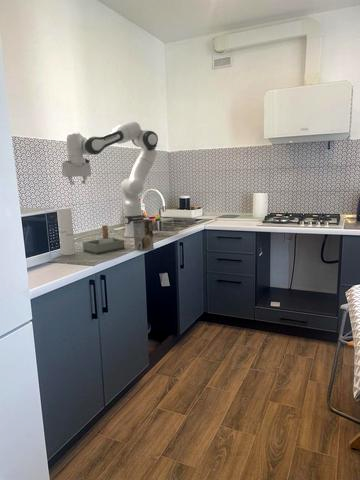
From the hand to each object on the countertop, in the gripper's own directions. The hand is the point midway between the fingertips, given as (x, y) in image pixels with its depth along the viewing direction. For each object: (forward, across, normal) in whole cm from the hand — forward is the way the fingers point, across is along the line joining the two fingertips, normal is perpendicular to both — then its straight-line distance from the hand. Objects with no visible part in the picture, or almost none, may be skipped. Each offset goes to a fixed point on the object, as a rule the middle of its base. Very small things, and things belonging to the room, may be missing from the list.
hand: (78, 184), depth 217 cm
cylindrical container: (+37, -24, -13) cm, 46 cm away
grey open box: (+37, -8, -25) cm, 45 cm away
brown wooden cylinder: (+36, -9, -27) cm, 46 cm away
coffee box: (+37, +2, -46) cm, 59 cm away
